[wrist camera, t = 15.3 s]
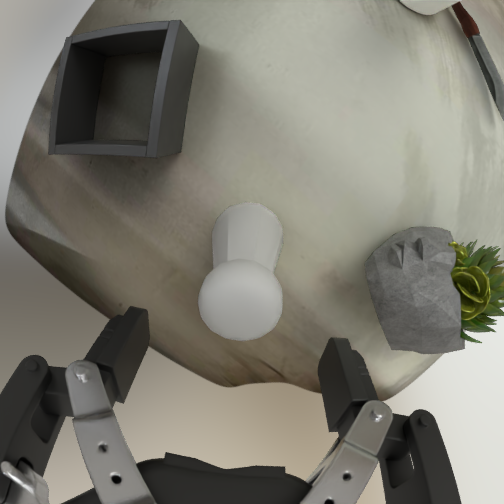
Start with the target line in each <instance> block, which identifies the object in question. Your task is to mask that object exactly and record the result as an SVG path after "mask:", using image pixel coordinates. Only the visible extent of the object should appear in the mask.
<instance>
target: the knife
mask: <svg viewBox="0 0 504 504" xmlns="http://www.w3.org/2000/svg"><path fill="white" fill-rule="evenodd" d="M451 6H452V8H453V10H454V12H455V14H456V16H457V18H458V20H459V22H460V23H461V26H462V29H463V32H464V33H465V35H466V37H467V38H468V40H469V42H470V45H471V47H472V49H473V52H474V54H475V56H476V58H477V61H478V63H479V66H480V68H481V70H482V73H483V75H484V78H485V80H486V82H487V85H488V87H489V90H490V92H491V94H492V97H493V99H494V101H495V104H496V106H497V108H498V110H499V112H500V114H501V117H502V119H503V121H504V84H503V82H502V79H501V77H500V75H499V73H498V71H497V68H496V66H495V64H494V62H493V60H492V58H491V56H490V54H489V52H488V50H487V48H486V45H485V43H484V41H483V39H482V37H481V36H480V35H479V34H480V32H479V29H478V27H477V24H476V23H475V21H474V20H473V18H472V17H471V16H470V15H469V14H468V12H467V11H466V10H465V9H464V8H463V6H462V4H461V3H460V1H459V2H457V3H455V4H453V5H451Z"/></svg>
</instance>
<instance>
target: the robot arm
mask: <svg viewBox="0 0 504 504" xmlns="http://www.w3.org/2000/svg"><path fill="white" fill-rule="evenodd" d="M149 340H150V334H149V320H148V311H147V310H146V309H142V308H138V307H133V306H130V307H129V308H128V310H127V311H126V313H125V315H124V316H122V315H117V316H115V317H114V318H112V319H111V320H109V322H108V323H107V325H106V326H105V328H104V330H103V331H102V332H101V334H100V336H99V337H98V338H97V340H96V341H95V343H94V344H93V346H92V347H91V349H90V350H89V352H88V353H87V355H86V357H85V358H84V359H83V360H77V361H75V362H73V363H71V364H70V365H69V366H68V367H67V368H63V367H52V366H48V364H47V361H46V360H45V359H44V358H43V357H41V356H38V355H31V356H28V357H26V358H24V359H23V360H22V361H21V363H20V364H19V366H18V367H17V369H16V370H15V372H14V373H13V375H12V376H11V378H10V379H9V381H8V383H7V384H6V386H5V388H4V389H3V391H2V392H1V394H0V504H49V500H48V497H49V489H48V485H47V483H46V481H45V480H44V479H43V475H44V471H45V469H46V466H47V463H48V460H49V458H50V455H51V452H52V450H53V447H54V444H55V442H56V439H57V437H58V434H59V432H60V429H61V427H62V425H63V422H64V420H65V417H66V416H70V417H74V419H72V420H73V426H74V430H75V433H76V437H77V440H78V443H79V446H80V450H81V453H82V456H83V459H84V462H85V464H86V467H87V470H88V472H89V474H90V478H91V480H92V483H93V485H94V488H92V489H90V490H88V491H86V492H85V493H82V494H80V495H78V496H76V497H74V498H72V499H70V500H68V501H66V502H64V503H61V504H356V502H357V500H358V499H359V497H360V495H361V494H362V492H363V490H364V488H365V487H366V485H367V483H368V481H369V479H370V477H371V476H372V474H373V472H374V470H375V468H376V466H377V464H378V461H379V463H380V468H381V475H382V480H383V487H384V492H385V500H386V504H461V500H460V496H459V492H458V488H457V484H456V480H455V477H454V474H453V470H452V467H451V463H450V460H449V457H448V454H447V451H446V448H445V445H444V442H443V439H442V436H441V434H440V431H439V428H438V425H437V423H436V420H435V418H434V416H433V415H432V414H431V413H430V412H428V411H426V410H422V409H419V410H415V411H414V412H413V413H412V414H411V415H410V416H404V415H399V414H394V413H392V410H391V409H390V407H389V406H388V405H386V404H385V403H384V402H381V401H379V400H378V397H377V394H376V391H375V388H374V386H373V383H372V380H371V377H370V376H369V372H368V369H366V364H365V362H364V359H363V357H362V356H361V355H360V354H359V353H358V352H357V351H356V350H352V349H351V346H350V343H349V341H348V339H346V338H330V339H329V341H328V343H327V345H326V348H325V350H324V352H323V354H322V357H321V359H320V361H319V365H318V376H319V381H320V386H321V391H322V396H323V402H324V407H325V412H326V418H327V423H328V429H329V432H338V434H339V437H338V438H337V440H336V441H335V443H334V444H333V446H332V447H331V449H330V450H329V451H328V453H327V454H326V456H325V457H324V458H323V460H322V461H321V463H320V464H319V465H318V467H317V468H316V469H315V471H314V472H313V473H312V474H311V475H310V476H309V477H308V479H307V480H306V481H304V480H302V479H300V478H298V477H296V476H293V475H290V474H287V473H285V467H280V466H279V467H278V466H275V467H274V466H250V467H242V468H234V469H223V468H220V467H217V466H214V465H211V464H208V463H206V462H203V461H201V460H198V459H196V458H191V457H186V456H181V455H176V454H172V453H167V452H166V453H165V458H158V459H150V460H145V461H142V462H139V463H137V464H136V462H135V460H134V458H133V456H132V454H131V451H130V449H129V447H128V445H127V443H126V441H125V438H124V436H123V434H122V431H121V429H120V427H119V424H118V422H117V419H116V416H115V414H114V411H113V409H112V408H113V406H114V403H115V401H117V402H120V403H124V402H125V399H126V397H127V394H128V392H129V390H130V387H131V385H132V383H133V380H134V378H135V375H136V373H137V371H138V369H139V367H140V364H141V362H142V360H143V357H144V355H145V353H146V351H147V348H148V345H149ZM410 454H411V457H410ZM411 458H412V461H411ZM412 462H413V465H412ZM413 466H414V469H413Z"/></svg>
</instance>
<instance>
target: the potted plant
mask: <svg viewBox="0 0 504 504" xmlns="http://www.w3.org/2000/svg"><path fill="white" fill-rule="evenodd" d="M476 242H477V240H476V241H475V242H474V243H473V245H472V246H471V247H470V245H471V244H472V242H470V243H469V244H468V245H467V246H466V247H463V246H462V245H463V243H464V242H463V243H462V244H461V245H458V244H457V243H456V242H454V241H453V238H452V236H451V233H450V231H447V230H444V229H442V228H436V227H411V228H409V229H406V230H404V231H401V232H399V233H397V234H394V235H393V236H391V237H390V238H389V239H388V240H387V241H386V242H384V243H383V244H382V245H381V246H380V247H379V248H377V249H376V250H375V251H374V252H373V253H372V254H371V256H370V257H369V258H368V260H367V261H366V262H365V271H366V278H367V282H368V286H369V290H370V293H371V297H372V300H373V303H374V306H375V309H376V312H377V316H378V319H379V322H380V324H381V326H382V329H383V331H384V334H385V336H386V339H387V341H388V343H389V346H390V348H391V350H404V351H414V352H418V353H421V354H438V353H448V352H453V351H457V350H462V349H465V340H467V341H471V342H477V343H482V342H480V341H478V340H475V339H473V338H471V337H470V336H468V335H467V334H465V333H464V332H463V329H464V330H467V331H470V332H490V331H492V332H495V330H493V329H491V328H490V327H488V326H487V325H496V324H495V323H493V322H494V321H496V320H494V319H491V318H489V317H487V316H504V312H503V311H502V310H501V309H500V308H502V307H504V267H501V266H497V265H500V264H502V263H504V261H497V260H498V259H497V258H498V257H499V256H500V255H499V256H497V257H495V255H496V254H497V252H498V251H499V250H500V249H501V248H499V249H497V250H494V249H496V248H497V247H498V246H496V247H493V248H491V247H492V246H491V247H489V248H487V249H483V248H484V246H485V245H484V246H482V247H481V248H480V249H478V250H477V251H476V252H475V253H474V254H473V255H472V256H471V257H470V255H471V254H472V252H473V249H474V247H475V244H476ZM490 248H491V249H490ZM493 250H494V251H493ZM494 257H495V258H494ZM495 266H497V267H495Z"/></svg>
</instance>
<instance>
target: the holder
mask: <svg viewBox="0 0 504 504" xmlns="http://www.w3.org/2000/svg"><path fill="white" fill-rule="evenodd" d="M198 48H199V44H198V42H197V41H196V40H195V38H194V37H193V35H192V34H191V33H190V31H189V30H188V29H187V27H186V26H185V25H184V24H183V22H182V21H181V20H171V21H157V22H146V23H137V24H130V25H123V26H116V27H111V28H105V29H100V30H95V31H91V32H86V33H82V34H78V35H74V36H70V37H67V38H66V40H65V44H64V47H63V51H62V56H61V60H60V64H59V69H58V74H57V79H56V85H55V91H54V97H53V104H52V112H51V121H50V133H49V149H48V154H49V155H51V154H85V155H116V156H134V157H148V158H158V157H163V156H167V155H171V154H176V153H180V152H181V148H182V141H183V133H184V126H185V119H186V113H187V106H188V100H189V94H190V88H191V83H192V77H193V72H194V67H195V62H196V57H197V53H198ZM150 52H162V56H161V61H160V66H159V71H158V76H157V81H156V87H155V92H154V99H153V105H152V112H151V119H150V126H149V134H148V141H137V140H93V138H94V127H95V118H96V110H97V103H98V96H99V90H100V84H101V78H102V73H103V68H104V63H105V59H106V57H108V56H116V55H125V54H136V53H150Z"/></svg>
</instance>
